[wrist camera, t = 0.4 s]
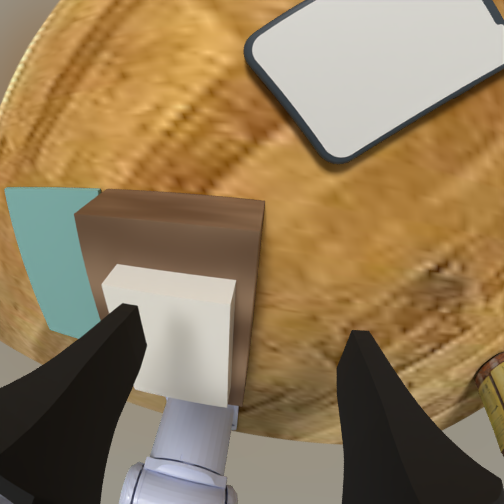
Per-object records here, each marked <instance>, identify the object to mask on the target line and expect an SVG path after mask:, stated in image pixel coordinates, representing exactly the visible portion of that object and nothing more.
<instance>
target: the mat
mask: <svg viewBox="0 0 504 504" xmlns="http://www.w3.org/2000/svg"><path fill="white" fill-rule="evenodd" d="M4 190H5V195H6V200H7V204H8V209H9V213H10V217H11V221H12V225H13V229H14V232H15V236H16V239H17V243H18V246H19V250H20V253H21V256H22V259H23V262H24V265H25V268H26V271H27V274H28V277H29V279H30V282H31V285H32V288H33V290H34V293H35V295H36V298H37V300H38V303H39V305H40V308H41V310H42V312H43V315H44V317H45V319H46V322H47V324H48V326H49V328H50V330H52V331H56V332H59V333H62V334H65V335H68V336H71V337H75V338H78V339H79V338H80V337H82V336H83V335H84V334H85V333H87V332H88V331H89V330H90V329H91V328H93V327H94V326H95V325H96V324H97V323H99V322H100V321H101V320H100V317H99V314H98V311H97V308H96V304H95V301H94V298H93V294H92V291H91V287H90V283H89V280H88V276H87V272H86V268H85V264H84V260H83V256H82V252H81V247H80V243H79V238H78V233H77V228H76V223H75V218H74V213H76V212H77V211H78V210H79V209H81V208H82V207H83V206H85V205H86V204H87V203H88V202H90V201H91V200H92V199H94V198H95V197H96V196H98V195H99V194H101V189H96V188H58V187H7V188H5V189H4Z"/></svg>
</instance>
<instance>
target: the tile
mask: <svg viewBox="0 0 504 504" xmlns="http://www.w3.org/2000/svg"><path fill="white" fill-rule="evenodd" d="M101 285H102V289H103V293H104V296H105V300H106V304H107V307H108V311H109V313H111V312H112V311H113V310H114V309H115V308H117V307H118V306H119V305H121V304H122V303H125V304H131V305H137V306H138V309H139V313H140V318H141V322H142V326H143V331H144V335H145V339H146V343H147V348H146V352H145V355H144V359H143V362H142V365H141V368H140V371H139V374H138V376H137V378H136V380H135V383H134V388H135V389H136V390H140V391H144V392H148V393H152V394H156V395H161V396H165V397H170V398H174V399H179V400H184V401H189V402H195V403H200V404H206V405H212V406H219V407H225V408H227V406H228V400H229V394H230V389H231V374H232V352H233V331H234V311H235V292H236V280H231V279H223V278H215V277H207V276H199V275H191V274H184V273H176V272H169V271H162V270H155V269H148V268H141V267H134V266H127V265H120V264H117V265H116V266H115V267H114V269H113V270H112V271H111V272H110V274H109V275H108V276H107V278H106V279H105V280H104V282H103V283H102V284H101Z"/></svg>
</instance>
